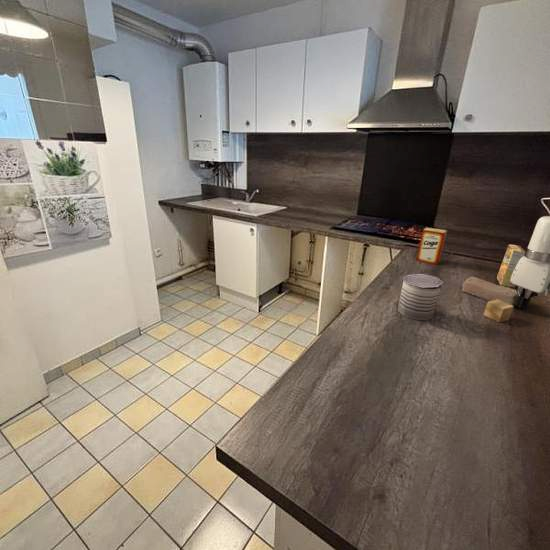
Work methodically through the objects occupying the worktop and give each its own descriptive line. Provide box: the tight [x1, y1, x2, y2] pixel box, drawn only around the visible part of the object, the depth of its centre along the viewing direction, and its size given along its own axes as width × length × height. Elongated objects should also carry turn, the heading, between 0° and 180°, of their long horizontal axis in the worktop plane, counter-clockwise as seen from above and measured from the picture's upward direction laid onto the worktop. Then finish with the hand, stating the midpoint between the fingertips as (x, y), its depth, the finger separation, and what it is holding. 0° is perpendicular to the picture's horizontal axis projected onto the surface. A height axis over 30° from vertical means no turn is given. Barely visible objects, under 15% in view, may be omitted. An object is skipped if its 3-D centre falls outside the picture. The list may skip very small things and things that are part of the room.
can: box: [397, 273, 445, 321], centre depth 95 cm, size 11×11×12 cm
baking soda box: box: [415, 227, 448, 266], centre depth 142 cm, size 10×6×16 cm
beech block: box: [483, 300, 515, 323], centre depth 94 cm, size 5×5×5 cm
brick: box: [461, 276, 518, 307], centre depth 108 cm, size 17×8×5 cm, turn 40°
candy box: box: [496, 244, 526, 288], centre depth 119 cm, size 9×4×15 cm, turn 153°
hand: (520, 306), depth 100 cm, fingers closed
